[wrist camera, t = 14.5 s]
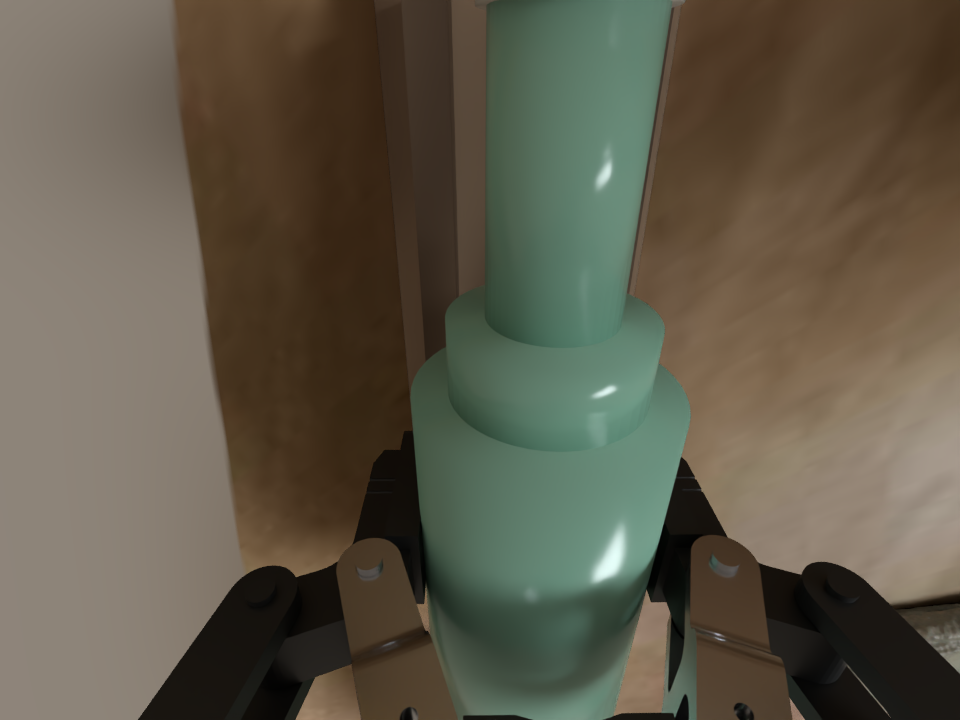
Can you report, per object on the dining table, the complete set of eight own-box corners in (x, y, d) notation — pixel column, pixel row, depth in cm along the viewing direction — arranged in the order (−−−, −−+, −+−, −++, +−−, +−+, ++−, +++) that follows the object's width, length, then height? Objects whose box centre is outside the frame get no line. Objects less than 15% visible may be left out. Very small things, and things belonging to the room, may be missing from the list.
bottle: (433, 834, 14) (312, -196, 4) (442, 646, 18) (399, -50, 8) (620, 831, 14) (985, -192, 4) (584, 645, 18) (709, -49, 8)
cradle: (670, -42, 14) (736, -79, 10) (583, 548, 26) (599, 622, 22) (379, -41, 14) (346, -78, 10) (428, 549, 26) (421, 623, 22)
